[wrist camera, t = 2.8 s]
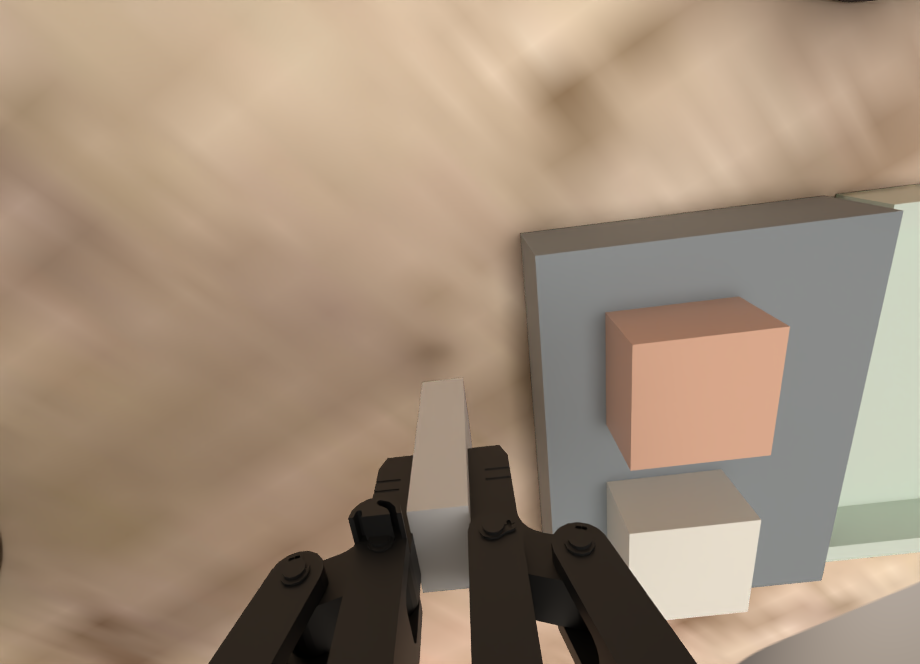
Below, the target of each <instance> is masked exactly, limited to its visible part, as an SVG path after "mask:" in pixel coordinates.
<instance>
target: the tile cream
mask: <svg viewBox="0 0 920 664" xmlns="http://www.w3.org/2000/svg"><path fill="white" fill-rule="evenodd" d="M760 525H761V519H760V518H759V516H758V515H757V514H756V513H755V511H754V510H753V509H752V507H751V506H750V505H749V504H748V502H747V501H746V500H745V499H744V497H743V496H742V495H741V494H740V492H739V491H738V490H737V489H736V487H735V486H734V485H733V483H732V482H731V481H730V480H729V478H728V477H727V476H726V475H725V473H724V472H723V471H722V470H721V469H720V470H711V471H702V472H693V473H684V474H675V475H666V476H657V477H647V478H638V479H629V480H620V481H611V482H607V538H608V539H609V541H610V542H611V544H612V545H613V546H614V548H615V549H616V551H617V552H618V553H619V555H620V556H621V558H622V559H623V560H624V562H625V563H626V565H627V566H628V568H629V569H630V570H631V572H632V573H633V575H634V576H635V577H636V579H637V580H638V582H639V583H640V584H641V586H642V587H643V589H644V590H645V591H646V593H647V594H648V596H649V597H650V598H651V600H652V601H653V603H654V604H655V605H656V607H657V608H658V610H659V611H660V612H661V614H662V615H663V617H664V618H665V619H666V620H671V619H681V618H691V617H701V616H710V615H720V614H730V613H740V612H748V606H749V600H750V593H751V586H752V579H753V573H754V566H755V559H756V552H757V546H758V539H759V532H760Z"/></svg>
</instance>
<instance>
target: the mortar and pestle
mask: <svg viewBox="0 0 920 664" xmlns="http://www.w3.org/2000/svg"><path fill="white" fill-rule="evenodd" d="M839 1H842V2H862V1H873V0H839Z"/></svg>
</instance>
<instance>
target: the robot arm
mask: <svg viewBox="0 0 920 664" xmlns="http://www.w3.org/2000/svg"><path fill="white" fill-rule="evenodd" d="M376 482H377V484H376V486H375V490H374V495H373V498H372V499H368V500H366V501H364V502H362V503H360V504H359V505H358V506H357V507H356V508H354V509H353V510H352V512H351V514H350V516H349V518H348V520H349V524H350V527H351V531H352V535H353V539H354V542H355V545H354V547H352V548H351V549H349V550H348V551H346V552H344V553H342V554H340V555H337V556H334V557H331V558H329V559H326V560H322V558H321V557H320V556H319V555H318V554H317V553H314V552H311V551H303V552H297V553H294V554H292V555H289V556H287V557H286V558H284V559H283V560H281V561H280V562H279V563H278V564H277V565H276V566H275V567H274V568H273V569H272V570H271V572H270V573H269V575H268V576H267V578H266V579H265V581H264V582H263V584H262V585H261V587H260V588H259V590H258V591H257V592H256V594H255V595H254V597H253V598H252V600H251V601H250V603H249V604H248V606H247V607H246V609H245V610H244V612H243V613H242V615H241V616H240V618H239V619H238V621H237V622H236V624H235V625H234V627H233V628H232V629H231V631H230V632H229V634H228V635H227V637H226V638H225V640H224V641H223V643H222V644H221V646H220V647H219V649H218V650H217V652H216V653H215V655H214V656H213V658H212V659H211V661H210V662H209V664H419V661H420V645H421V628H422V606H421V601H420V584H421V585H422V589H423V593H424V592H435V591H445V590H455V589H465V588H469V592H470V624H471V656H472V664H543V662H542V656H541V650H540V644H539V637H538V631H537V625H536V620H537V621H541V622H546V623H550V624H555V625H558V628H559V631H560V633H561V635H562V637H563V639H564V641H565V643H566V646H567V648H568V650H569V652H570V654H571V656H572V658H573V660H574V662H575V664H697V663H696V662H695V660H694V659H693V657H692V656H691V655H690V653H689V652H688V650H687V649H686V648H685V646H684V645H683V643H682V642H681V641H680V639H679V638H678V636H677V635H676V634H675V632H674V631H673V629H672V628H671V627H670V625H669V624H668V622H667V621H666V619H665V618H664V617H663V615H662V614H661V612H660V611H659V610H658V608H657V607H656V605H655V604H654V603H653V601H652V600H651V598H650V597H649V596H648V594H647V593H646V591H645V590H644V589H643V587H642V586H641V584H640V583H639V582H638V580H637V579H636V577H635V576H634V575H633V573H632V572H631V570H630V569H629V568H628V566H627V565H626V563H625V562H624V560H623V559H622V558H621V556H620V555H619V553H618V552H617V551H616V549H615V548H614V546H613V545H612V544H611V542H610V541H609V539H608V538H607V537H606V535H605V534H604V533H603V532H602V531H601V530H600V529H598V528H597V527H594V526H592V525H590V524H587V523H581V522H574V523H567V524H565V525H563V526H561V527H559V528H558V529H557V530H556V532H555V533H554V534H548V533H542V532H539V531H535V530H533V529H531V528H529V527H527V526H526V525H525V524H524V523H522V521H521V520H520V518H519V517H518V514H517V510H516V503H515V497H514V491H513V485H512V479H511V473H510V467H509V461H508V455H507V453H506V452H505V451H504V450H503V449H502V448H501V447H500V445H495V446H486V447H477V448H472V442H471V433H470V426H469V418H468V411H467V403H466V396H465V388H464V381H463V378H454V379H445V380H437V381H428V382H422V388H421V396H420V404H419V413H418V421H417V429H416V437H415V446H414V454H413V456H403V457H394V458H388V459H387V460H386V461H385V462H384V464H383V465H382V466H381V468H380V469H379V472H378V476H377V481H376Z"/></svg>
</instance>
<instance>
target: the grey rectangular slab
mask: <svg viewBox="0 0 920 664" xmlns="http://www.w3.org/2000/svg"><path fill="white" fill-rule="evenodd" d="M902 216H903V210H898V209H893V208H887V207H882V206H877V205H871V204H866V203H861V202H855V201H850V200H845V199H839V198H834V197H829V196H817V197H809V198H801V199H793V200H785V201H777V202H769V203H761V204H753V205H745V206H737V207H729V208H721V209H713V210H705V211H697V212H689V213H681V214H673V215H665V216H657V217H648V218H640V219H632V220H624V221H616V222H608V223H600V224H592V225H584V226H576V227H568V228H560V229H552V230H544V231H536V232H528V233H520V235H521V249H522V262H523V276H524V290H525V303H526V317H527V330H528V344H529V358H530V371H531V385H532V398H533V412H534V426H535V439H536V453H537V466H538V480H539V494H540V507H541V521H542V533H548V534H554V533H555V532H556V530H557V529H558V528H559V527H561V526H563V525H565V524H567V523H574V522H581V523H587V524H590V525H592V526H594V527H597V528H598V529H600V530H601V531H602V532H603V533H604V534H605V535H606V537H607V482H611V481H620V480H629V479H638V478H647V477H657V476H666V475H675V474H684V473H693V472H702V471H711V470H720V469H721V470H722V471H723V472H724V473H725V475H726V476H727V477H728V478H729V480H730V481H731V482H732V483H733V485H734V486H735V487H736V489H737V490H738V491H739V492H740V494H741V495H742V496H743V497H744V499H745V500H746V501H747V502H748V504H749V505H750V506H751V507H752V509H753V510H754V511H755V513H756V514H757V515H758V516H759V518H760V519H761V525H760V532H759V539H758V546H757V552H756V559H755V566H754V573H753V579H752V586H751V588H753V587H763V586H772V585H782V584H792V583H801V582H811V581H821V580H822V576H823V571H824V567H825V562H826V558H827V553H828V549H829V544H830V540H831V535H832V531H833V526H834V522H835V517H836V513H837V508H838V504H839V499H840V495H841V490H842V486H843V481H844V477H845V472H846V468H847V463H848V459H849V454H850V450H851V445H852V441H853V436H854V432H855V427H856V423H857V418H858V414H859V409H860V405H861V400H862V396H863V391H864V387H865V382H866V378H867V373H868V369H869V364H870V360H871V355H872V351H873V346H874V342H875V337H876V333H877V328H878V324H879V319H880V315H881V310H882V306H883V301H884V297H885V292H886V288H887V283H888V279H889V274H890V270H891V265H892V261H893V256H894V252H895V247H896V243H897V238H898V234H899V229H900V225H901V220H902ZM730 297H741V298H743V299H744V300H746V301H748V302H749V303H751V304H753V305H754V306H756V307H758V308H760V309H761V310H763V311H765V312H766V313H768V314H770V315H771V316H773V317H775V318H776V319H778V320H780V321H782V322H783V323H785V324H787V325H788V326H790V330H789V337H788V343H787V350H786V357H785V364H784V370H783V377H782V384H781V391H780V397H779V404H778V411H777V418H776V424H775V431H774V438H773V445H772V451H771V455H769V456H760V457H751V458H742V459H733V460H724V461H715V462H705V463H696V464H687V465H678V466H669V467H660V468H651V469H642V470H633V471H630V469H629V467H628V465H627V463H626V461H625V459H624V457H623V455H622V453H621V452H620V450H619V448H618V446H617V444H616V442H615V440H614V438H613V436H612V434H611V433H610V431H609V429H608V427H607V425H606V330H605V312H613V311H621V310H630V309H638V308H646V307H655V306H663V305H672V304H680V303H688V302H697V301H705V300H714V299H722V298H730Z"/></svg>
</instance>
